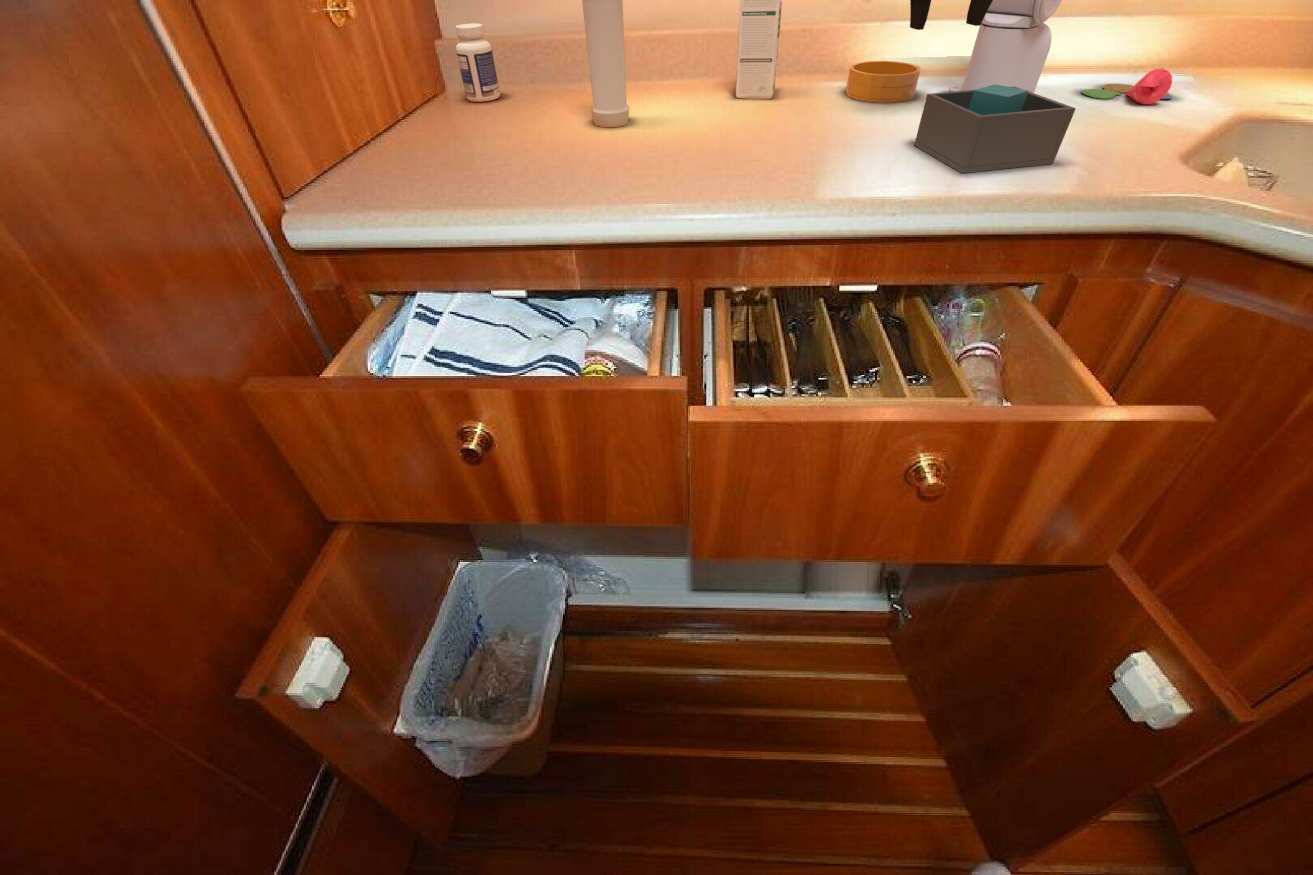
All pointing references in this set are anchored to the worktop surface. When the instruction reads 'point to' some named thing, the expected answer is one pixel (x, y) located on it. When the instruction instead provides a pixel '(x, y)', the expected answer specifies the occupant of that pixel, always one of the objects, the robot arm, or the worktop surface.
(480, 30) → the pill bottle
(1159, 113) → the worktop surface
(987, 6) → the robot arm
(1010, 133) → the bin
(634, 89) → the worktop surface
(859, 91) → the bowl
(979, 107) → the toy block
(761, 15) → the syrup box
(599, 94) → the bottle
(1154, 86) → the toy pieces
